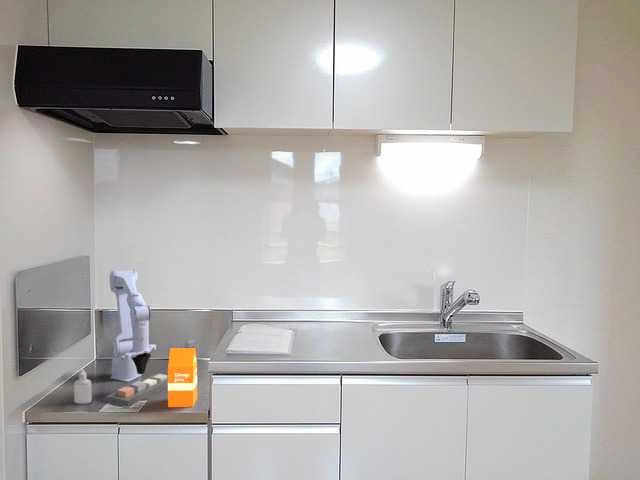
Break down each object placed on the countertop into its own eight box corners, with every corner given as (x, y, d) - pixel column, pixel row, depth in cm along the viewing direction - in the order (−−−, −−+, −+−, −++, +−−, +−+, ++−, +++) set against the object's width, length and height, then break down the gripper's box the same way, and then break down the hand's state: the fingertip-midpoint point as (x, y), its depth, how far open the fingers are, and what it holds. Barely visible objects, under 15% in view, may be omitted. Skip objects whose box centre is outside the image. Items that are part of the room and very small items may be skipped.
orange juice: (172, 398, 176) (172, 345, 175) (197, 398, 177) (197, 345, 176) (167, 407, 169) (167, 351, 167) (193, 406, 169) (193, 351, 168)
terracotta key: (117, 396, 173) (117, 390, 173) (125, 392, 177) (125, 386, 176) (125, 398, 171) (125, 391, 171) (134, 394, 175) (134, 388, 175)
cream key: (141, 388, 184) (141, 382, 184) (149, 384, 188) (149, 378, 188) (149, 390, 183) (149, 383, 182) (157, 386, 186) (157, 380, 186)
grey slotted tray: (106, 401, 172) (106, 396, 172) (157, 377, 196) (157, 373, 196) (128, 406, 169) (127, 400, 168) (176, 381, 192) (176, 377, 192)
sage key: (152, 383, 190) (152, 377, 189) (159, 379, 193) (159, 373, 193) (160, 384, 188) (160, 378, 188) (167, 381, 192) (167, 375, 192)
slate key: (129, 391, 179) (129, 384, 178) (137, 387, 182) (137, 380, 182) (138, 392, 177) (138, 386, 177) (145, 389, 181) (145, 382, 180)
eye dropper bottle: (82, 406, 168) (81, 372, 167) (72, 402, 171) (72, 369, 170) (93, 401, 172) (93, 369, 171) (84, 398, 175) (83, 366, 174)
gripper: (134, 344, 171) (135, 381, 172) (162, 334, 185) (162, 368, 186) (119, 341, 174) (120, 378, 175) (147, 332, 187) (148, 366, 188)
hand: (140, 373), depth 180 cm, fingers closed
